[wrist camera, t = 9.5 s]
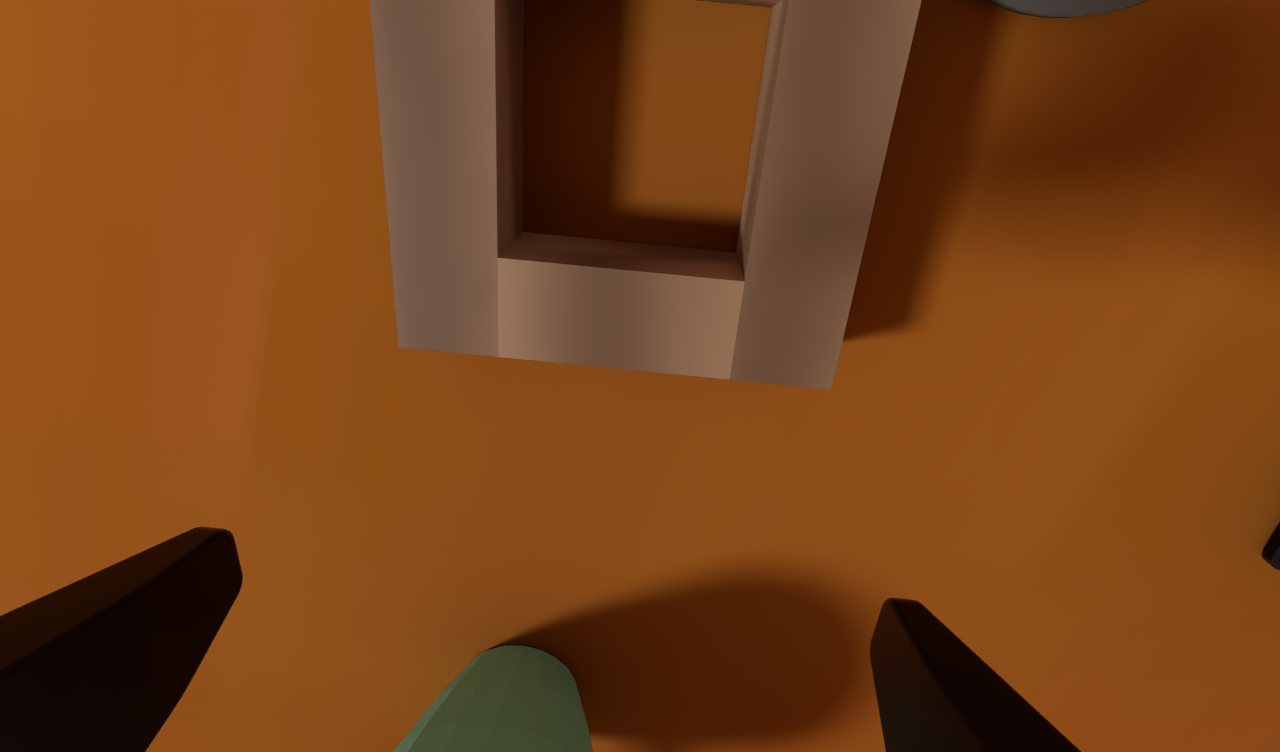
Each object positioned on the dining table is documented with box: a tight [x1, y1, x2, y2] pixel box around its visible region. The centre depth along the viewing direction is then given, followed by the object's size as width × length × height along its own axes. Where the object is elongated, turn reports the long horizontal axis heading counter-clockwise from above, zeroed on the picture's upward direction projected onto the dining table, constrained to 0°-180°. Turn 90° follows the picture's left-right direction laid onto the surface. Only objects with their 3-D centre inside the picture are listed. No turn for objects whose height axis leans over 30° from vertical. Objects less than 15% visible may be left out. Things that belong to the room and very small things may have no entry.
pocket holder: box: [370, 0, 922, 390], centre depth 17 cm, size 12×12×3 cm
